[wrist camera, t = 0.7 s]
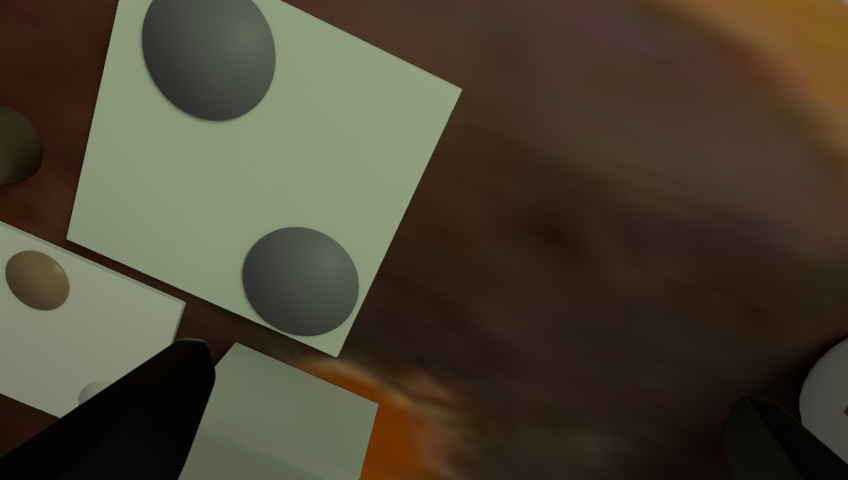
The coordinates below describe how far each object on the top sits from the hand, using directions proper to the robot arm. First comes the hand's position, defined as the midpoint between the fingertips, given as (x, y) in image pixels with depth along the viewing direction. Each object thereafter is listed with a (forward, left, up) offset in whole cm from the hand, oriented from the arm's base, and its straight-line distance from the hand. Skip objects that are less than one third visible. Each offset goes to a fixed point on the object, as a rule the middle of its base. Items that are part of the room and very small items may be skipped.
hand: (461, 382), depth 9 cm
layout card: (-16, +15, -14) cm, 26 cm away
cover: (-16, +3, -14) cm, 22 cm away
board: (-3, +9, -14) cm, 17 cm away
